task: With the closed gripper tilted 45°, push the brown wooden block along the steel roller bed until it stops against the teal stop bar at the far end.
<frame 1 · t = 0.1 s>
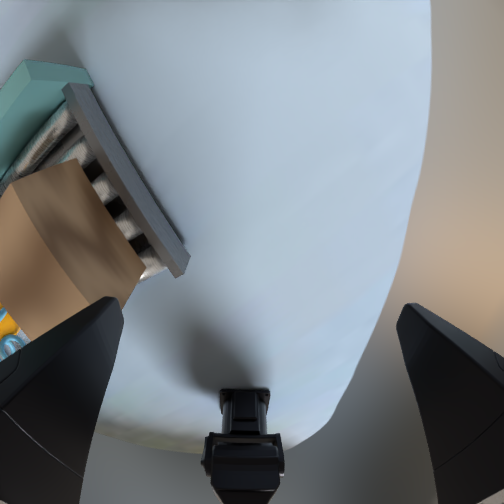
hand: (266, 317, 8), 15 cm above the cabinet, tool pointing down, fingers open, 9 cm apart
brown wooden block: (51, 261, 16), point 7 cm above the cabinet, slide at 0.0 cm
roller bed: (83, 208, 21), on the cabinet
stop bar: (39, 127, 17), on the cabinet
orange post with rings: (16, 300, 26), on the cabinet
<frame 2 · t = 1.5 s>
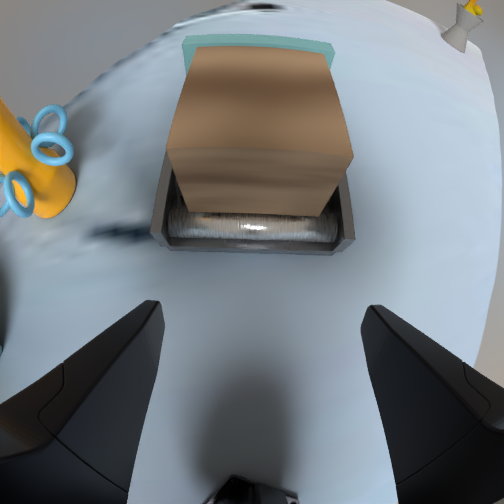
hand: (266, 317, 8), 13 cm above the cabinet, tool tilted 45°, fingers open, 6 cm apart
brown wooden block: (257, 124, 17), point 7 cm above the cabinet, slide at 0.0 cm
lava lamp: (452, 44, 44), on the cabinet
roller bed: (253, 163, 24), on the cabinet
stop bar: (255, 97, 27), on the cabinet
orange post with rings: (55, 194, 23), on the cabinet
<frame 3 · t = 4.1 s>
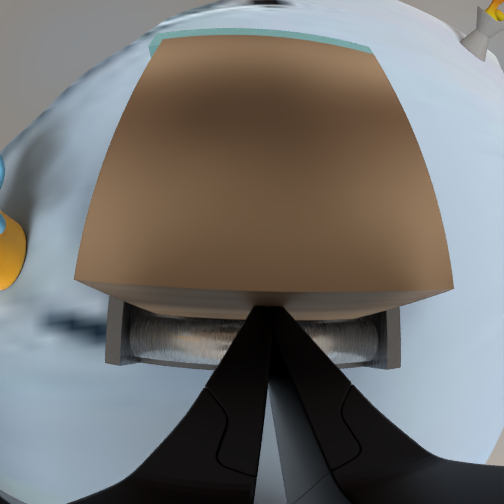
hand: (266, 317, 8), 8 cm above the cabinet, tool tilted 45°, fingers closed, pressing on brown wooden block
brown wooden block: (265, 176, 10), point 7 cm above the cabinet, slide at 0.9 cm, touching gripper
lava lamp: (472, 51, 38), on the cabinet
roller bed: (256, 227, 17), on the cabinet
stop bar: (257, 119, 20), on the cabinet
orange post with rings: (7, 256, 16), on the cabinet
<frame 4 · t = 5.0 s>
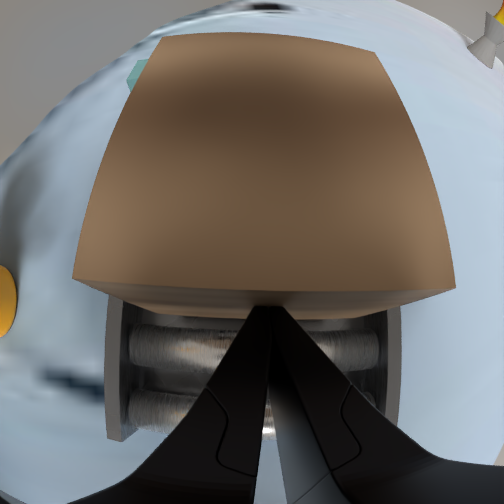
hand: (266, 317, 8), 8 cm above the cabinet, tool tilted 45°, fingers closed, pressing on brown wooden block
brown wooden block: (266, 174, 10), point 7 cm above the cabinet, slide at 4.9 cm, touching gripper
lava lamp: (479, 58, 36), on the cabinet
roller bed: (254, 290, 16), on the cabinet
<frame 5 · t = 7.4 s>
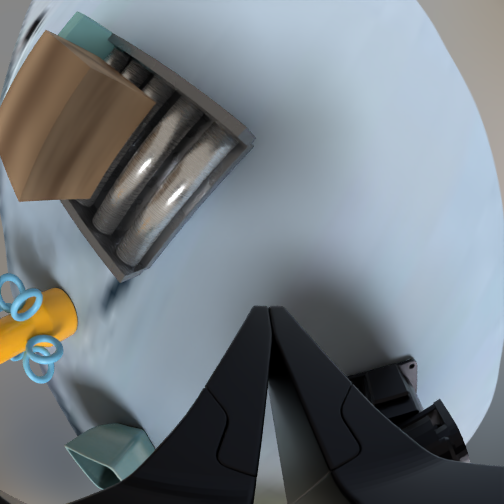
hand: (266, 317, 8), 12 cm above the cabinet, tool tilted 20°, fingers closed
brown wooden block: (60, 111, 14), point 7 cm above the cabinet, slide at 5.0 cm
flower pot: (137, 436, 28), on the cabinet
roller bed: (132, 146, 21), on the cabinet
stop bar: (88, 99, 21), on the cabinet
orange post with rings: (63, 310, 26), on the cabinet
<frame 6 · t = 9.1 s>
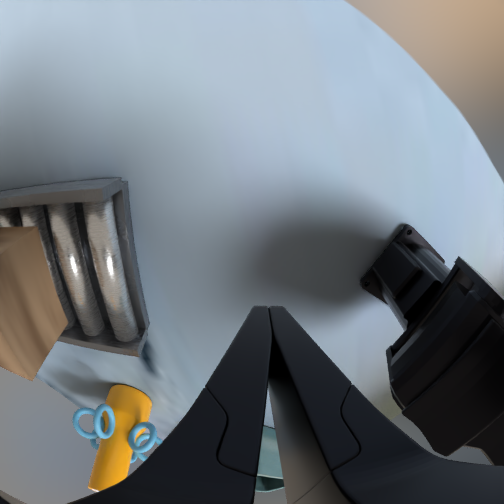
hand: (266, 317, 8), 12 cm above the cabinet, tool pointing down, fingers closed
flower pot: (260, 431, 34), on the cabinet
roller bed: (58, 257, 20), on the cabinet
orange post with rings: (131, 395, 30), on the cabinet
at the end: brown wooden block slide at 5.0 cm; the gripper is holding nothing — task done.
